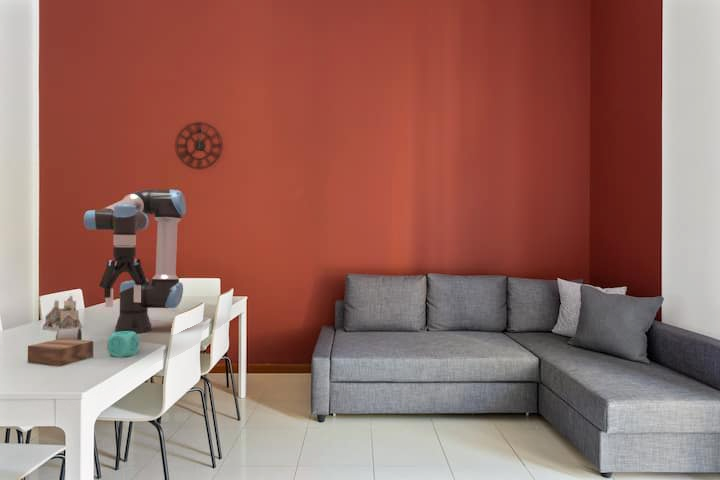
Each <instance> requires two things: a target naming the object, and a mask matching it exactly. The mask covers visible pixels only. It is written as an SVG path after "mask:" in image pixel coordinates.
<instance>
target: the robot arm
mask: <svg viewBox="0 0 720 480" xmlns="http://www.w3.org/2000/svg"><path fill="white" fill-rule="evenodd" d="M186 204H187V203H186V198H185V195H184V194H183V192H182V191H181V190H177V189H153V188H152V189H150V188H148V189H141V190H137V191H135V192H131V193H128V194H126V196H124V197H123V199H122V200H120V201H117V202H115V203H113V204H111V205H109V206H106V207H104V208H102V209H97V210H96V209H93V210H91V209H90V210H87V211H85V213H84V215H83V224H84V227H85V229H87V230H92V231H113V239H112V240H113V246H114V247H113V248H112V256H113V258H114V260H113V259H111V260H110V259H109V260H107V262H106V268H105V270H104V273H103V275H102V277H101V280H100V282H99V288H102V289H104V298H105V304H104V306H105V307H106V308H114V288H112V287H113V285H114V284H115V283H116V281H117V280H118V278H119V276H120V275H121V274H122V273H128V274H129V275H130V277H131V279H132V280H126V281H123V282H121V283H120V287H119V316H118V318H117V321H116V325H115V326H114V333H115V332H120V331H133V332H135V333H136V334H142V333H147V332H151V331H152V323H151V320H150V317H149V314H148V311H149V309H154V308H155V309H174V308H177V307H179V306H180V303H181V301H182V298H183V294H184V284H183V283H182V282H181V281H180V278H179V277H178V276H177V274H176V271H177V252H178V251H177V247H178V246H177V245H178V226H179V225H178V224H179V222H180V221H181V220H182V217H183V216H185V215H186V212H187V205H186ZM148 215H151V216H154V217H153V218H154V220H155V221H157V232H156V256H155V258H156V259H155V275H154V276H153V277H152V278H151V281H150V282H149V279H148V278H146V277H145V273H144V270H143V267H142V265H141V264H142V263H141V262H142V261H141V259H140V258H135V257H136V253H137V247H135V246H136V245H137V232H140V231H144V230H145V229H147V228H148V226H149V224H150V220H149V216H148Z"/></svg>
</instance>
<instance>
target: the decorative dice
mask: <svg viewBox="0 0 720 480" xmlns="http://www.w3.org/2000/svg"><path fill="white" fill-rule="evenodd" d="M106 346H107V347H106V349H107V351H108V353H109V354H110V356H112V357H113V356H114V357H113V358H126V357H127V358H128V357H132V356H134V355H136V353H137V352H138V350H139V347H140V338H139V335H138V333H135V332H133V331H120V332H115V331H114V332H112V333H111V334H110V335H109V337H108V339H107V345H106Z"/></svg>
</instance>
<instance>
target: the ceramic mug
mask: <svg viewBox="0 0 720 480" xmlns="http://www.w3.org/2000/svg"><path fill="white" fill-rule="evenodd" d="M61 338H66V339H76V340H83V333H82V328H72V329H63V330H59V331H56V334H55V340H57V339H61Z"/></svg>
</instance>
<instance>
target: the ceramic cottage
mask: <svg viewBox="0 0 720 480" xmlns="http://www.w3.org/2000/svg"><path fill="white" fill-rule="evenodd" d="M59 302H60V300H58V299H57V300H54V303H53V304H54V305H53V307H52V309H51V310H50V311H49V312H48V313H47V314H46V315H45V317H44V318H45V323H44V324H42V330H44V331H51V332H52V331H53V332H58V331H59V330H63V329H72V328H80V329H82V323H81V321H80V317H79V309H77V300H74V299H73V295H69V297H68V298H67V300H64V301H63V306H64V307H63V308H60V307H59V306H60V305H59Z"/></svg>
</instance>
